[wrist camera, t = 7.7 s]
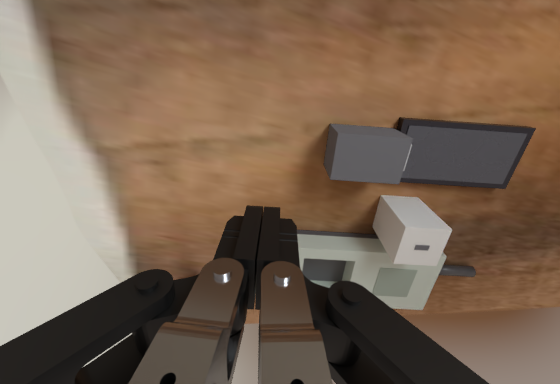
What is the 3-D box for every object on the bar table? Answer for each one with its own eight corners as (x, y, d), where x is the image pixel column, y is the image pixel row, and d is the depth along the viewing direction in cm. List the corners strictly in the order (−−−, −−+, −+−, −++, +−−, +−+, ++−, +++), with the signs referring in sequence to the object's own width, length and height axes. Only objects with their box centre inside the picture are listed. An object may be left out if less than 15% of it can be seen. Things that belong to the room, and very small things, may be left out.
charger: (418, 197, 27) (452, 230, 21) (407, 228, 28) (436, 266, 23) (380, 195, 27) (406, 227, 21) (372, 226, 28) (393, 264, 23)
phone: (524, 125, 24) (536, 128, 22) (496, 183, 26) (506, 189, 25) (397, 116, 23) (403, 119, 22) (381, 176, 26) (386, 181, 25)
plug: (401, 128, 24) (422, 139, 20) (390, 168, 25) (408, 184, 22) (329, 123, 23) (338, 133, 20) (323, 163, 25) (330, 179, 22)
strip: (481, 241, 29) (508, 263, 26) (455, 291, 33) (475, 317, 29) (274, 228, 28) (273, 250, 25) (270, 280, 32) (269, 306, 29)
